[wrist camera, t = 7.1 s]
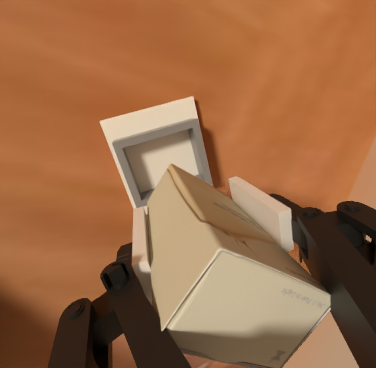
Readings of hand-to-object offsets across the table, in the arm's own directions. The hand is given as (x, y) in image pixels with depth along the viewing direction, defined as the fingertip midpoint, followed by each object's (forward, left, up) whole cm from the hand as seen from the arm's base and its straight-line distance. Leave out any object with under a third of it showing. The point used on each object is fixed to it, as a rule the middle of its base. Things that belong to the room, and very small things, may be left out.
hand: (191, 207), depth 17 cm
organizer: (0, 0, -19) cm, 19 cm away
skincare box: (0, 0, -2) cm, 2 cm away
